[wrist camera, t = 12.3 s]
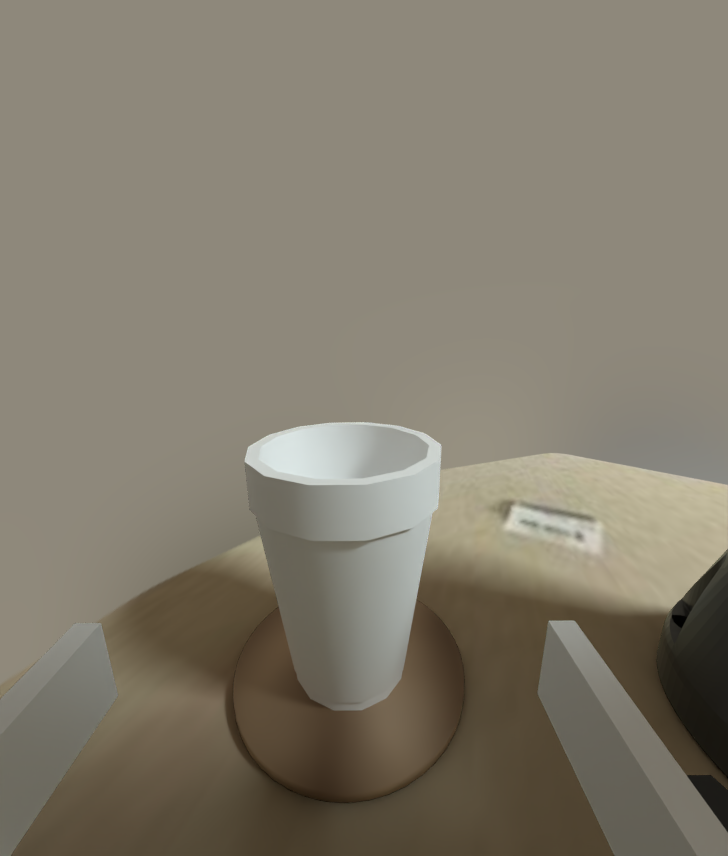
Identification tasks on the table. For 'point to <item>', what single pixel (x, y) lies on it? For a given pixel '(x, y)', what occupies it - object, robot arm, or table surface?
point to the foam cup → (345, 548)
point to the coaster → (348, 717)
